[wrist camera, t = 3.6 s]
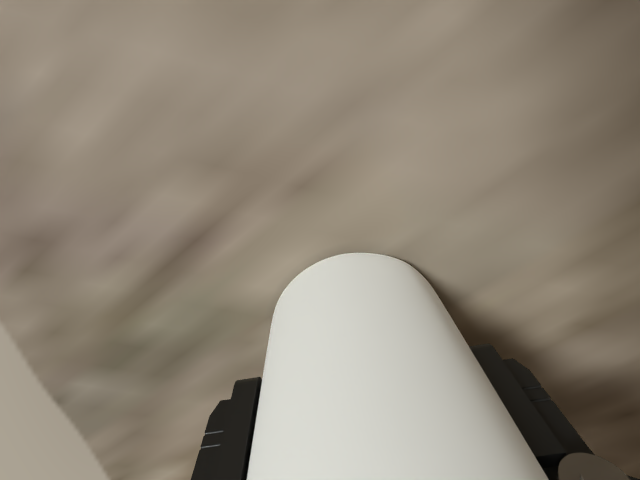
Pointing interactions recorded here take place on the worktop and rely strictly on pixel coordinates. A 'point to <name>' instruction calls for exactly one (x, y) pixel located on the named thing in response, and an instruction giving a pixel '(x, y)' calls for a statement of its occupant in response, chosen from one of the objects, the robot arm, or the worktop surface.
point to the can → (377, 385)
